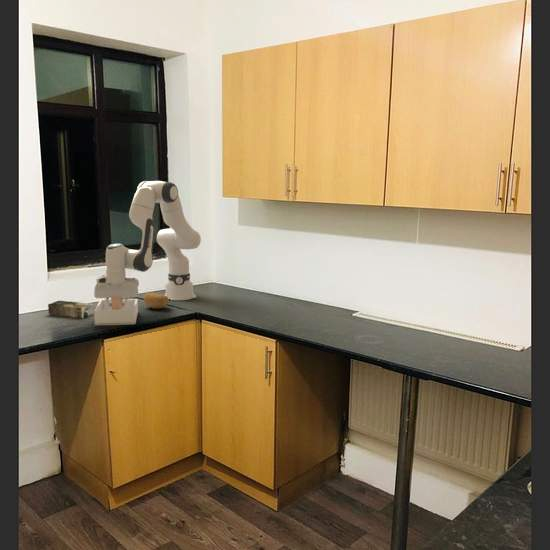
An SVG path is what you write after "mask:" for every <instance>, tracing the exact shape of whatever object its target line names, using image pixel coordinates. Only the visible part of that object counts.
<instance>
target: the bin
mask: <svg viewBox="0 0 550 550" xmlns="http://www.w3.org/2000/svg"><path fill="white" fill-rule="evenodd" d="M109 302H110V303H112V302H111V299H109ZM122 302H125V299H123V298H122ZM138 314H139V302H138V298H135V299H134V298H131V299H130V298H128V300H127V301H126V306H125V307H123V309H119V310H112V307H108V303H107V301H106V299H99V301H98V304H97V305H96V307H95V308H94V309H93V315H94V326H120V325H122V326H123V325H136V323H137V319H138Z"/></svg>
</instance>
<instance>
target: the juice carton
mask: <svg viewBox="0 0 550 550" xmlns="http://www.w3.org/2000/svg"><path fill="white" fill-rule="evenodd" d="M47 308H48V315H49V314H51V315H50V316H52V315H54V316H55V315H60V316H59V317H63V316H71V317H70V318H75V317H79V318H78V319H84V318H87V317H89V316H92V315H94V306H93V303H89V302H88V303H87V302H80V301H79V302H78V301H67V300H57V301H54V302H52V303H48V305H47Z"/></svg>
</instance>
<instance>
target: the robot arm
mask: <svg viewBox="0 0 550 550" xmlns="http://www.w3.org/2000/svg"><path fill="white" fill-rule="evenodd" d="M137 185H138V186H137V188H136V192H135V193H134V196H133V199H132V201H131V205H130V208H129V212H128V214H129V215H128V217H129V219H130V221H131V223H132V224H133V225H135V226H136V227H138V228H139V229H140V230H141V232H142V237H141V244H140V248H139V249H131V248H128V247H126V246H124V245H123V244H122V243H119V242H118V243H111V244H109V245H107V247H106V249H105V265H106V269H105V270H106V272H105V274H103V275H100V276H98V277H97V278H96V284H95V286H94V293H93V295H94V298H96V299H105V300H106V301H107V303H108V307H112V303H110V302H109V300H110V298H112V297H121V298H122V299H123V298H124V299H125V302H122V307H125V306H126V301H127V300H128V299H129V298H138V296H139V288H138V287H139V285H140V284H139V283H140V281H139V279H138V278H136V277H126V274H127V273H126V269H127V270H133V271H138V272H142V273H143V272H147V271H148V270H150V268H151V267H152V265H153V262H154V258H153V256H154V255H153V253H154V252H153V250H154V241H155V233H156V232H155V231H156V223H155V221H154V218H153V213H154V210H155V206H156V205H155V204H159V205H160V211H161V215H162V219H163V222H164V223H165V225H167V226H168V227H170V228H163V229H160V230H159V231H158V232H157V234H156V243H157V244H158V245H159V246H160V247H161V249H162V250H163V251H164V252H165V254H166V256H167V259H168V260H167V261H168V275H167V277H168V278H167V279H168V280H167V282H166V283H165V294H164V295H165V296H167V297H168V299H170V300H171V301H187V300H191V299H196V298H197V295H196V294H195V293H194V285H193V282H192V281H191V273H190V259H188V257H187V256H186V255H184V253H182V251H181V250H193V249H194V250H195V249H198V247H200V245H201V241H202V238H201V235H200V233H199V231H196V230H195V229H194V228H193V227H192V226H191V225H190V223H189V222H188V220H187V218H186V217H185V215H184V214H185V213H184V211H183V206H182V203H181V198H180V196H179V190H178V187H177V185H176V183H173V182H170V181H163V180H162V181H161V180H150V181H149V180H144V181H141V182H140V183H139V184H137Z"/></svg>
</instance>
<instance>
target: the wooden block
mask: <svg viewBox="0 0 550 550" xmlns="http://www.w3.org/2000/svg"><path fill="white" fill-rule="evenodd" d="M122 299H123V298H121V297H112V298H111V299H110V300H111V302H112V310H119V309H123V307H122Z"/></svg>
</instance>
